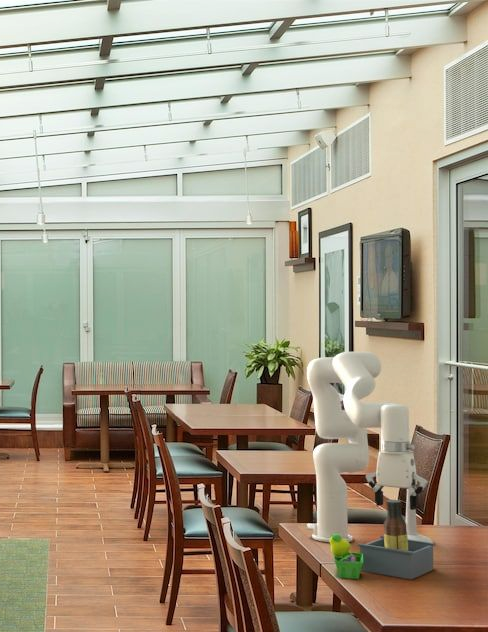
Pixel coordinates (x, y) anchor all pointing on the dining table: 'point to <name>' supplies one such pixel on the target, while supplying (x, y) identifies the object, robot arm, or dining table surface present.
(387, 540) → the sauce bottle
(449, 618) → the dining table surface
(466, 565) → the dining table surface
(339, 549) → the fruit basket
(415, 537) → the candlestick
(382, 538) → the blue wooden frame
